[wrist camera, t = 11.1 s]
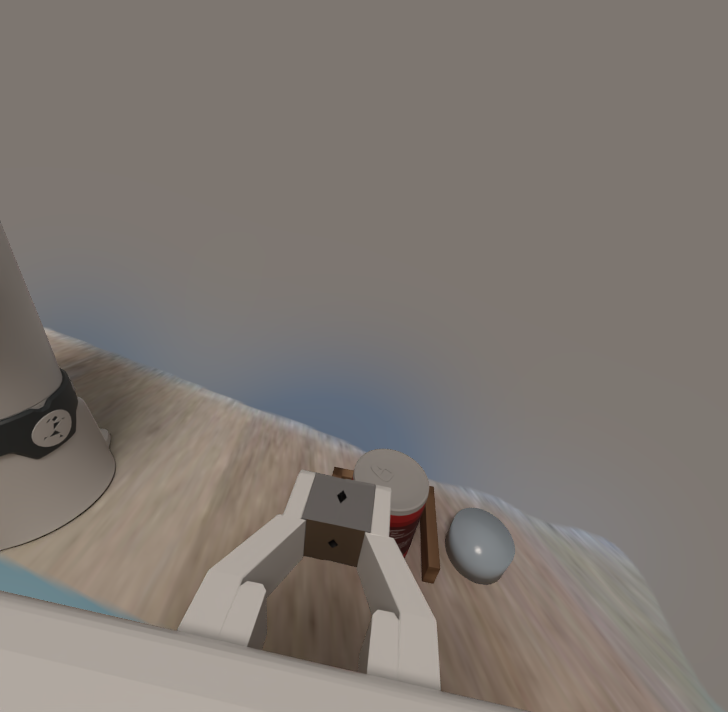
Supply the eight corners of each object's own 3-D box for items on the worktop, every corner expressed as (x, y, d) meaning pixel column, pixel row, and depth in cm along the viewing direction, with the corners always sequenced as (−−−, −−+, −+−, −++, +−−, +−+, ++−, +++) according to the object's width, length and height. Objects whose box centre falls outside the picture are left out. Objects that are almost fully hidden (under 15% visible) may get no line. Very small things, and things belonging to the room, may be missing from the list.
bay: (312, 557, 35) (314, 542, 33) (332, 481, 44) (334, 466, 42) (433, 583, 34) (440, 568, 33) (428, 501, 43) (433, 486, 41)
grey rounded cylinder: (447, 577, 35) (456, 560, 33) (442, 519, 41) (449, 502, 39) (510, 591, 35) (523, 575, 33) (496, 530, 41) (505, 514, 39)
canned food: (355, 499, 42) (367, 438, 36) (413, 523, 40) (435, 463, 34) (331, 555, 35) (341, 491, 30) (399, 586, 33) (423, 524, 28)
